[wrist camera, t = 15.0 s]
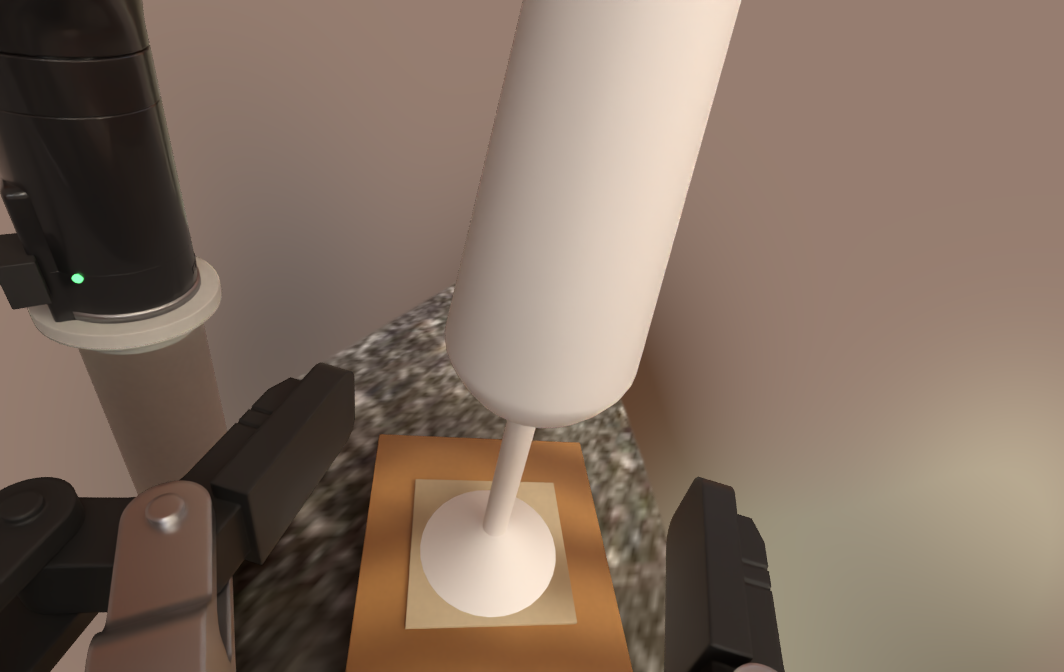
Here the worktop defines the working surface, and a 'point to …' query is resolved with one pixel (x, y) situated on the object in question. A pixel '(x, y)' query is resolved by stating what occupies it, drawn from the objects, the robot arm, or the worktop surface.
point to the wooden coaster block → (458, 637)
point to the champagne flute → (568, 253)
